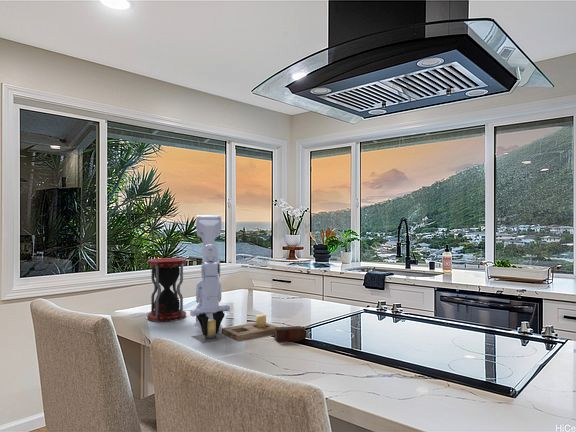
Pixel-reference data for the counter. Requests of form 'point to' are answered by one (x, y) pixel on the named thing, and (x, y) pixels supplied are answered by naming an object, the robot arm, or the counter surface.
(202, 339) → the mat
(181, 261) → the hourglass
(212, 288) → the robot arm
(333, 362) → the counter surface
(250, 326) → the socket board
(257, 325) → the tan domed cylinder
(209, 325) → the yellow peg
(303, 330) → the brick
